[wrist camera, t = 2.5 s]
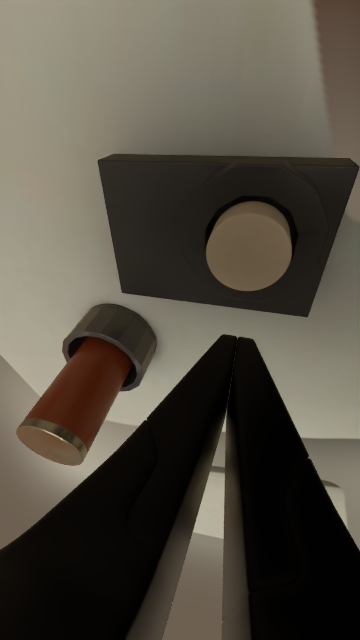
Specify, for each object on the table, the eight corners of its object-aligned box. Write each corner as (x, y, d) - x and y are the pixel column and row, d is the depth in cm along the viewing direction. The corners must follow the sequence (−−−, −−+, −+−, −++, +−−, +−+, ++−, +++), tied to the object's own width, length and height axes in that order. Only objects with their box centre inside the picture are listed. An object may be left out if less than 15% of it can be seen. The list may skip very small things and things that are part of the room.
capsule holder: (153, 309, 22) (136, 339, 19) (159, 367, 26) (146, 398, 23) (76, 298, 23) (51, 325, 20) (93, 355, 27) (75, 383, 25)
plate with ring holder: (352, 151, 13) (373, 167, 10) (305, 299, 18) (310, 335, 15) (112, 148, 15) (78, 160, 12) (132, 279, 20) (111, 306, 18)
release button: (298, 202, 12) (302, 216, 10) (280, 277, 14) (281, 296, 13) (214, 198, 12) (207, 210, 11) (210, 269, 15) (204, 286, 13)
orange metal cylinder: (138, 322, 22) (71, 437, 15) (144, 359, 25) (90, 472, 18) (89, 315, 23) (3, 420, 16) (100, 351, 26) (31, 455, 19)
